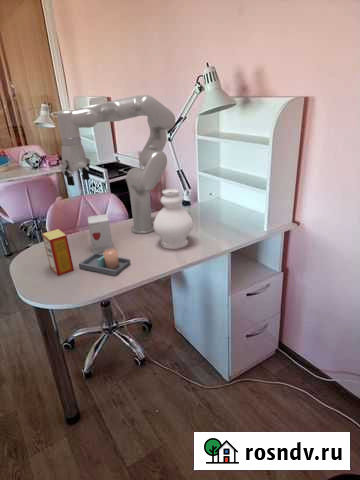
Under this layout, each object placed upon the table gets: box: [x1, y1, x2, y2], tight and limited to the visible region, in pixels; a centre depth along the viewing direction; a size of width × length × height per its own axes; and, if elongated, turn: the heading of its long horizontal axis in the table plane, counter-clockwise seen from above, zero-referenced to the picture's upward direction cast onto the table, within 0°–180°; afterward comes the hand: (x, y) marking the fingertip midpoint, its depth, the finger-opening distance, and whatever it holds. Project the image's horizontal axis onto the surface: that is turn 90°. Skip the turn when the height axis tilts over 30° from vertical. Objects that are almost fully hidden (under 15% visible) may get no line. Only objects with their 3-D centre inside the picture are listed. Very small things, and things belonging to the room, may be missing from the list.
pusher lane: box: [78, 253, 131, 277], centre depth 138 cm, size 11×18×2 cm, turn 64°
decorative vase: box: [153, 188, 194, 250], centre depth 150 cm, size 18×18×25 cm
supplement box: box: [87, 213, 114, 254], centre depth 152 cm, size 9×9×15 cm
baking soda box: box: [41, 228, 75, 277], centre depth 135 cm, size 10×6×16 cm
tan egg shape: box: [102, 248, 120, 270], centre depth 135 cm, size 6×6×7 cm
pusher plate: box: [97, 255, 106, 268], centre depth 137 cm, size 8×1×4 cm, turn 154°
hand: (79, 182), depth 146 cm, fingers open, 9 cm apart
